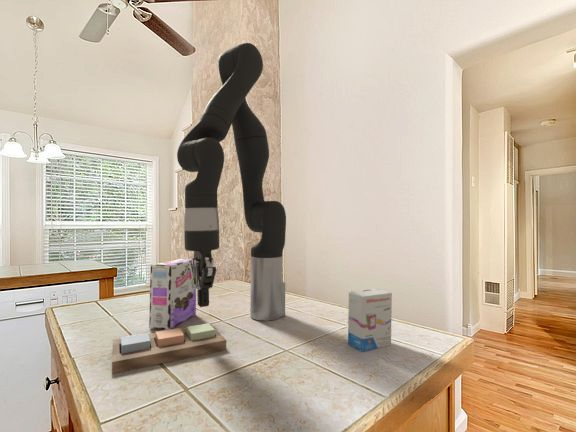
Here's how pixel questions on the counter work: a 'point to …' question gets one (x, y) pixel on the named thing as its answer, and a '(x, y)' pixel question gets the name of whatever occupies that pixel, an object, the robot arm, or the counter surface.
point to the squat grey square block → (135, 343)
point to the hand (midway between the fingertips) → (203, 305)
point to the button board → (164, 351)
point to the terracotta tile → (169, 337)
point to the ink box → (369, 319)
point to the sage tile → (200, 332)
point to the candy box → (171, 294)
